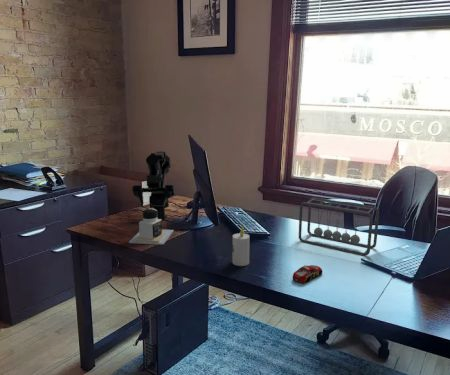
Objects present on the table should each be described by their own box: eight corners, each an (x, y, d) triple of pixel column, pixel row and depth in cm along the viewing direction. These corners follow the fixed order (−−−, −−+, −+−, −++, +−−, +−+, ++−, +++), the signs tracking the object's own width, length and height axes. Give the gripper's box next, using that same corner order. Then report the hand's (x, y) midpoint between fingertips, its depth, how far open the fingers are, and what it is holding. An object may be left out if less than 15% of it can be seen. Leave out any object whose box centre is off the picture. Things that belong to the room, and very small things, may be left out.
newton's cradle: (297, 241, 172) (299, 201, 168) (307, 234, 181) (309, 196, 177) (369, 257, 156) (372, 213, 152) (376, 248, 164) (380, 207, 160)
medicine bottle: (153, 240, 170) (152, 212, 167) (139, 237, 173) (138, 210, 170) (162, 234, 176) (161, 208, 173) (149, 232, 179) (147, 206, 176)
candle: (229, 260, 153) (229, 223, 149) (245, 258, 155) (245, 221, 151) (235, 267, 147) (235, 228, 143) (251, 264, 149) (252, 226, 146)
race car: (312, 269, 146) (312, 259, 145) (325, 274, 142) (325, 263, 141) (289, 280, 137) (290, 269, 136) (302, 285, 133) (303, 274, 132)
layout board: (142, 229, 187) (142, 226, 186) (173, 231, 185) (173, 228, 184) (128, 243, 170) (128, 239, 170) (163, 244, 168) (163, 241, 168)
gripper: (131, 167, 180) (128, 197, 172) (173, 167, 181) (171, 197, 173) (135, 181, 190) (132, 210, 182) (175, 180, 190) (174, 209, 182)
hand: (152, 206), depth 179 cm, fingers open, 9 cm apart
